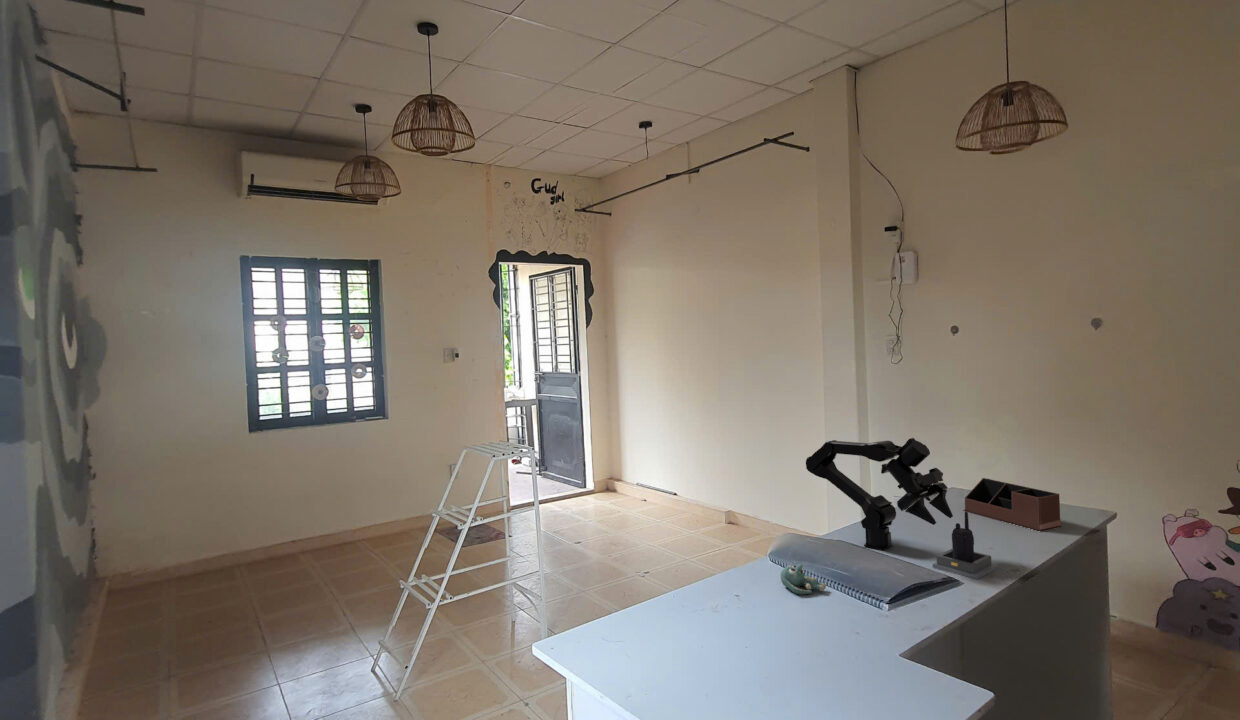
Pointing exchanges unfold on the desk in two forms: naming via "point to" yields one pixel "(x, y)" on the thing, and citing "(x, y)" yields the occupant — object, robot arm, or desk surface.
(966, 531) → the two-way radio
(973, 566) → the charging cradle
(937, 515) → the desk surface
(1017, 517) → the desk organizer
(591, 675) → the desk surface
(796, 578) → the stuffed animal
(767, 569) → the desk surface
